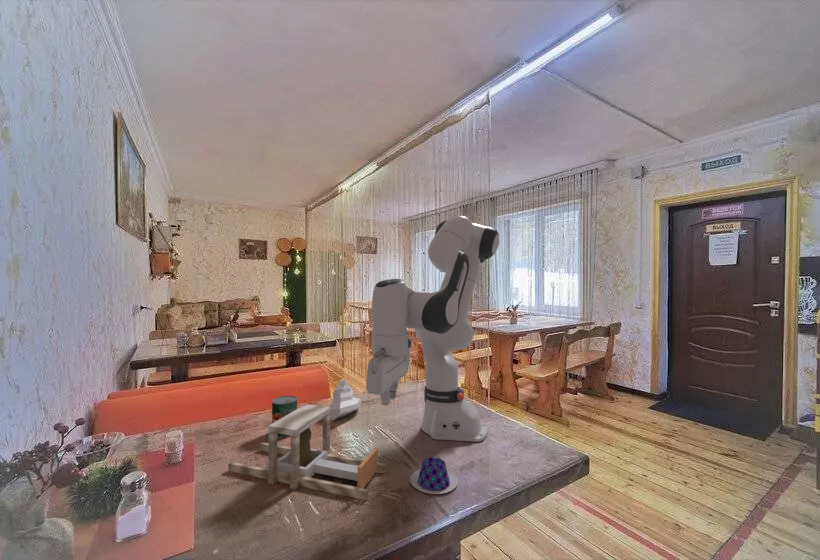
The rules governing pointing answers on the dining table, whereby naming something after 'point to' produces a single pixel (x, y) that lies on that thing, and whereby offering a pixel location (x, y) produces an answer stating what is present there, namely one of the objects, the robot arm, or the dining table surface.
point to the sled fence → (334, 467)
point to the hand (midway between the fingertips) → (389, 401)
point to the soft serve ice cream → (343, 401)
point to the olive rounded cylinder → (305, 448)
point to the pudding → (433, 477)
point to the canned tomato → (283, 409)
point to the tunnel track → (293, 427)
